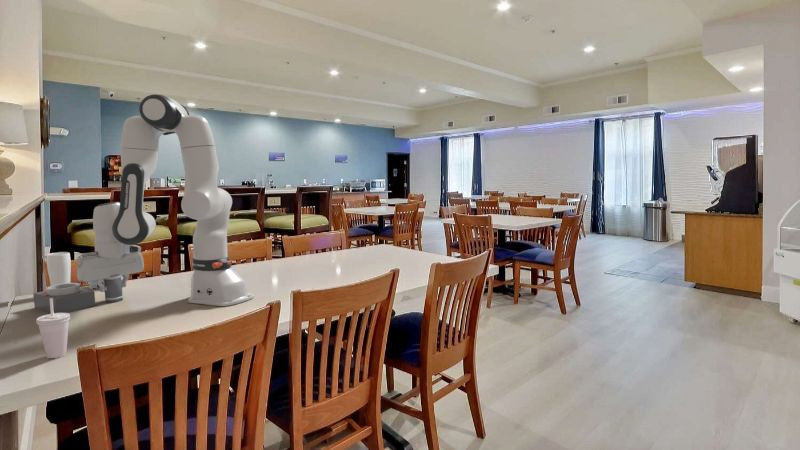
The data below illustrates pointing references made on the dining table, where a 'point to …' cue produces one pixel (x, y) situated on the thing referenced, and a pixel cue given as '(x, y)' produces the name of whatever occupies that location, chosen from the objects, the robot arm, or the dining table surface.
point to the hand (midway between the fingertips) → (113, 289)
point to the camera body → (64, 298)
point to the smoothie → (54, 332)
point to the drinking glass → (59, 267)
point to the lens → (113, 289)
